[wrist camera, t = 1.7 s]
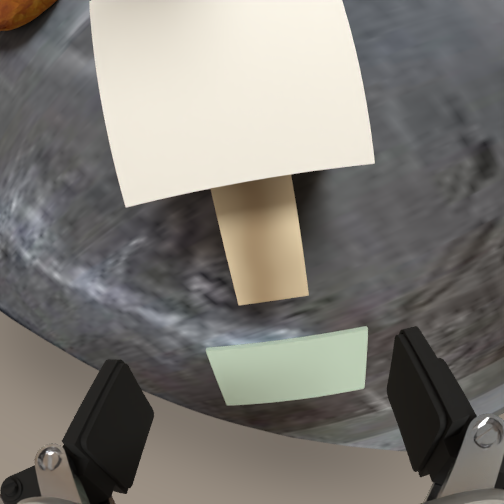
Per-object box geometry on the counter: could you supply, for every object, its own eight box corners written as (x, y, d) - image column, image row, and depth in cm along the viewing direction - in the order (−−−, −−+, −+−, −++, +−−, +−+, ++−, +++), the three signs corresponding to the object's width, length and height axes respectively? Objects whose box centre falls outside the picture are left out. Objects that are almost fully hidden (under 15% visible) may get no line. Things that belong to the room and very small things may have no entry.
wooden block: (272, 98, 23) (274, 85, 16) (298, 251, 28) (308, 295, 21) (214, 110, 24) (191, 102, 17) (246, 259, 29) (238, 305, 22)
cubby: (302, 9, 20) (321, -55, 9) (331, 148, 24) (374, 163, 14) (152, 40, 21) (89, 1, 11) (179, 175, 26) (125, 207, 16)
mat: (366, 326, 31) (367, 329, 31) (363, 385, 35) (364, 388, 34) (206, 347, 33) (205, 351, 33) (227, 402, 37) (226, 405, 37)
